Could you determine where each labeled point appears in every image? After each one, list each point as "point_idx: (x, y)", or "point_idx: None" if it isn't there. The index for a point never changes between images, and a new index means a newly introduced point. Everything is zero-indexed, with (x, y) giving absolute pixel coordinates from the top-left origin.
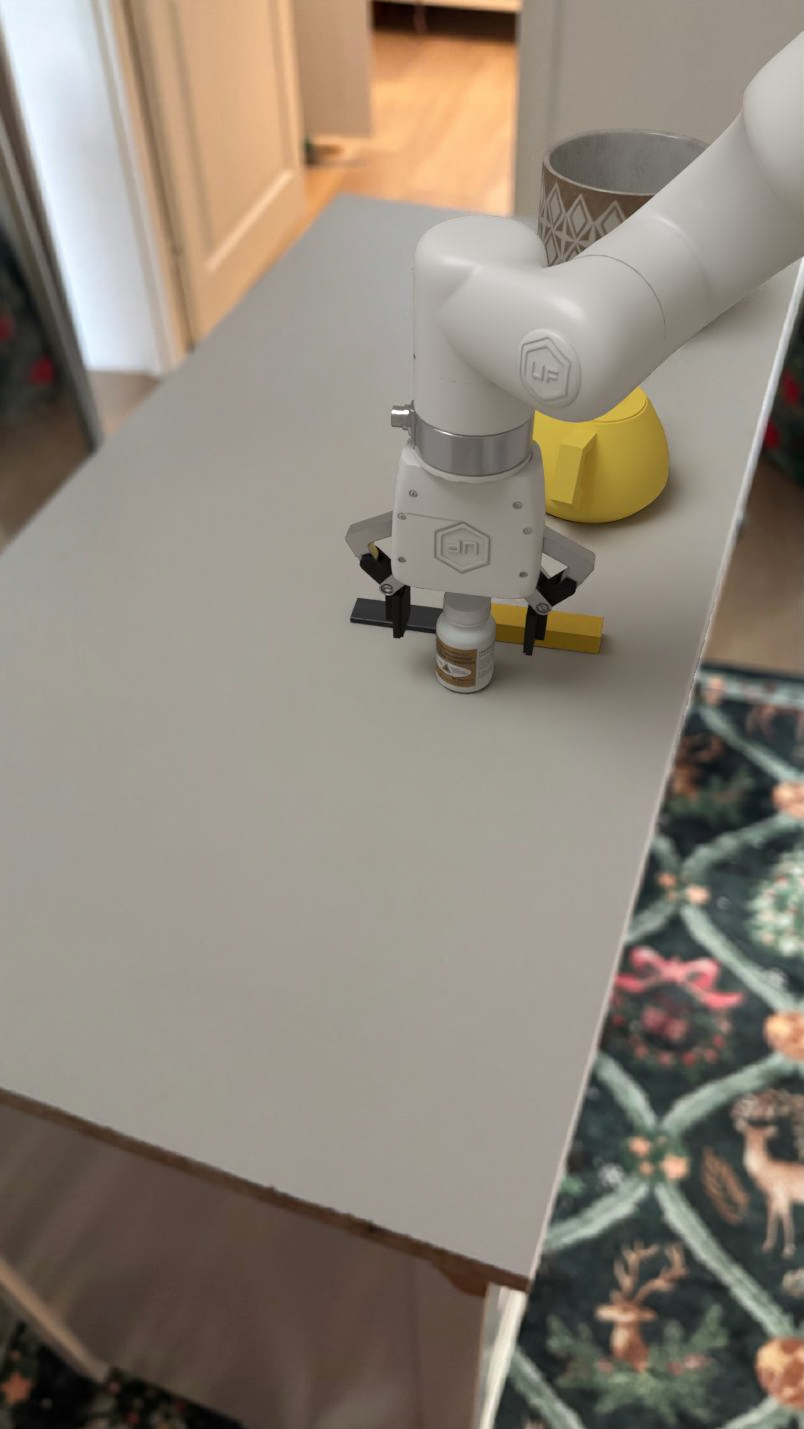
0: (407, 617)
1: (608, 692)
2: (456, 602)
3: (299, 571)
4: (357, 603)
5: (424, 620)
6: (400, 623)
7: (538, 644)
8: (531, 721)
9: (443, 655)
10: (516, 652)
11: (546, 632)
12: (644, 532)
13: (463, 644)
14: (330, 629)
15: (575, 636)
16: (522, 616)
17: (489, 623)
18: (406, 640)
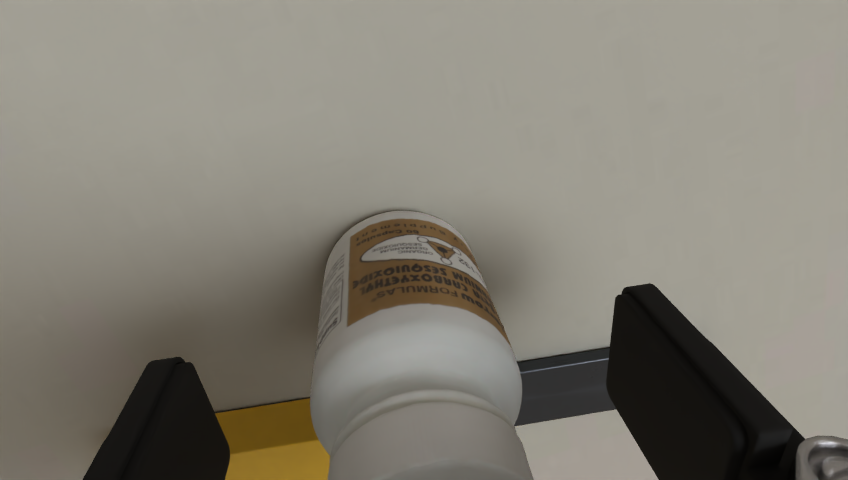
0: (621, 371)
1: (22, 336)
2: None
3: (812, 415)
4: None
5: (538, 387)
6: (661, 334)
7: (261, 409)
8: (157, 176)
9: (462, 279)
10: (303, 374)
11: (236, 446)
12: None
13: (397, 323)
14: (744, 299)
15: None
16: (311, 468)
17: (332, 436)
18: (565, 325)
